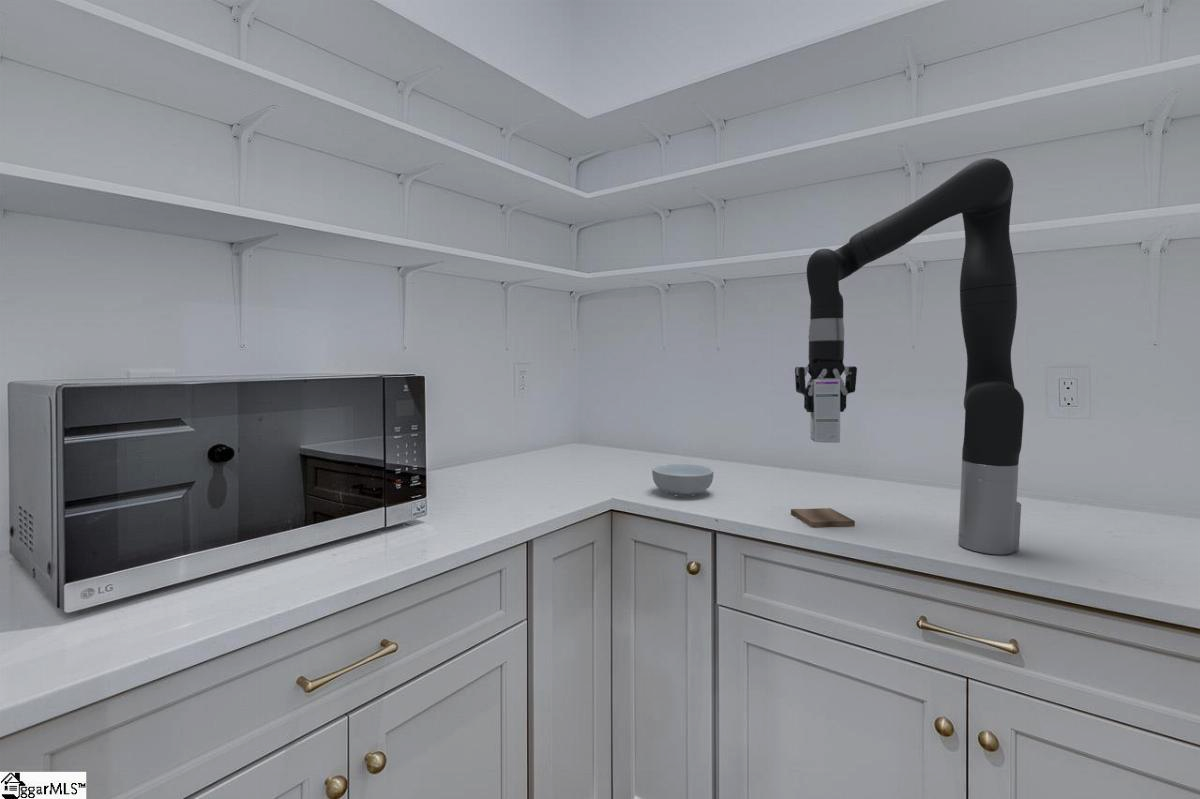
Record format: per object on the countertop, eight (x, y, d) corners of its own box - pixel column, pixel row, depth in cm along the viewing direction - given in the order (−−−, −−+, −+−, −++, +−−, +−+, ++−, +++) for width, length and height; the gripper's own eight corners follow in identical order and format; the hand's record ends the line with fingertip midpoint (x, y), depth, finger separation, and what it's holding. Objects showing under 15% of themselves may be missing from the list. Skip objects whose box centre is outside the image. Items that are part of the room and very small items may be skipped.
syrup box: (840, 442, 129) (842, 378, 128) (813, 442, 130) (814, 378, 129) (835, 439, 134) (836, 377, 133) (809, 439, 136) (810, 377, 135)
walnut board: (830, 512, 140) (830, 508, 139) (854, 526, 129) (854, 520, 129) (790, 514, 139) (790, 509, 138) (812, 527, 128) (812, 522, 128)
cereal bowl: (639, 493, 161) (639, 468, 160) (678, 484, 172) (678, 460, 171) (687, 504, 148) (687, 477, 147) (725, 494, 159) (725, 469, 159)
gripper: (803, 338, 126) (802, 414, 127) (865, 338, 128) (863, 412, 129) (788, 340, 134) (788, 411, 135) (847, 339, 135) (846, 410, 136)
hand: (825, 411), depth 132 cm, fingers closed on syrup box, 6 cm apart
